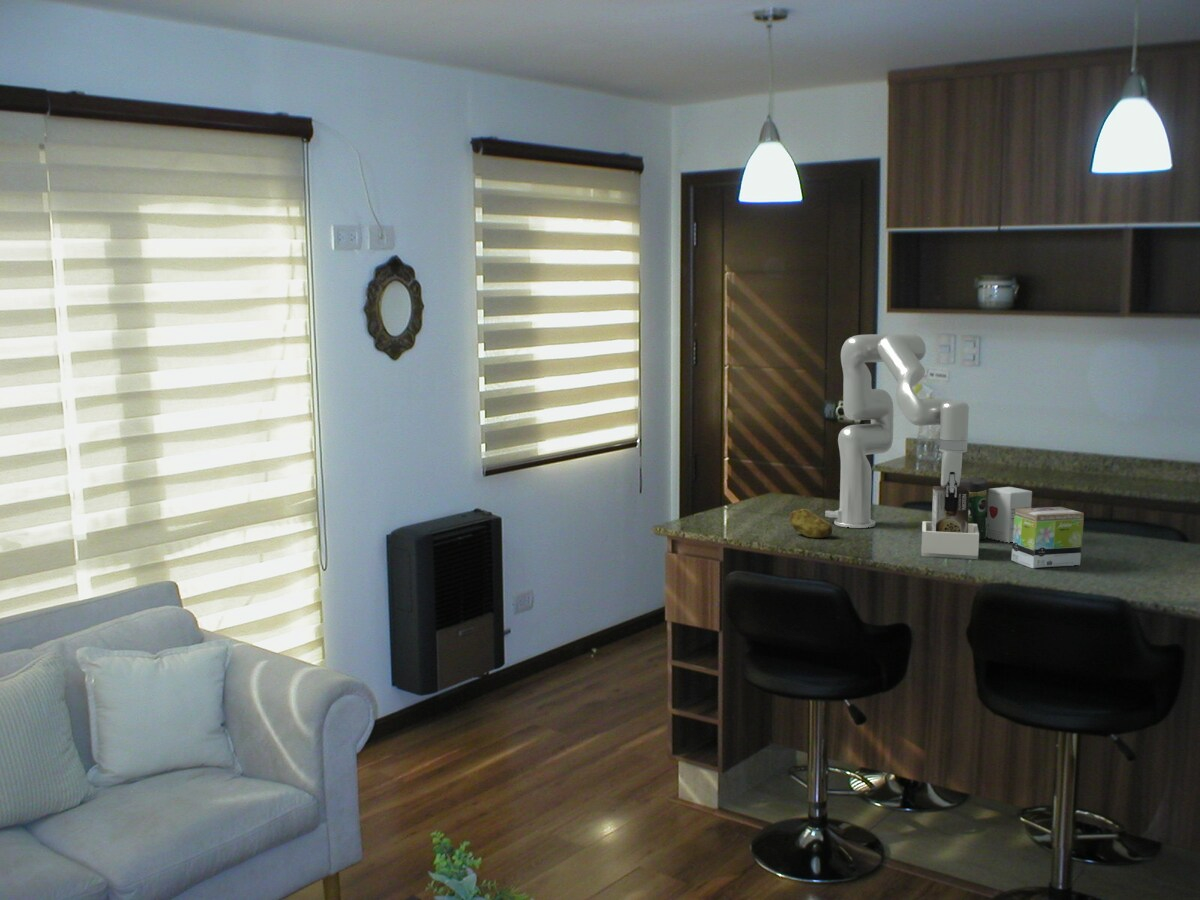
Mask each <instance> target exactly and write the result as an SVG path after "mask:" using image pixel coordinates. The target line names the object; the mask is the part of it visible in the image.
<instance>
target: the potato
mask: <svg viewBox="0 0 1200 900" xmlns="http://www.w3.org/2000/svg"><path fill="white" fill-rule="evenodd" d="M788 518H789V519H788V520H789V523H790V524H791V525H790V526H791V527H793V529H794V530H796V531H797V532H799V533H800V534H802V535H803V536H805V537H808V538H813V539H821V538H827V537H829V536H831V535H832V533H833V528H832V527H833V526H832V524H831V523H829V522H828V521H826V520H825V519H823V518H822V517H820V516H819V515H817V514H816V513H813V512H812V511H811V510H809V509H805V508H796V509H794V510H793V511H791V512H790V514H789V516H788Z"/></svg>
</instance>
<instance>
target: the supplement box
mask: <svg viewBox="0 0 1200 900" xmlns="http://www.w3.org/2000/svg"><path fill="white" fill-rule="evenodd" d="M987 492H988V493H987V494H988V495H987V514H986V537H988V538H987V539H990V538H992V539H991V540H994V539H996V540H995V541H998V540H1000V541H999V542H1002V541H1004V542H1003V543H1005V542H1008V543H1007V544H1010V543H1009V542H1013V529H1014V516H1015V509H1021V508H1032V500H1033V497H1032V496H1033V491H1032V490H1028V489H1023V488H1019V487H1018V488H1017V487H1013V486H1005V487H1004V486H1002V487H994V488H993V487H992V488H988V491H987ZM986 537H985V538H986Z"/></svg>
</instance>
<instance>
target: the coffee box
mask: <svg viewBox="0 0 1200 900" xmlns="http://www.w3.org/2000/svg"><path fill="white" fill-rule="evenodd" d="M945 497H946V486H944V487H942V486H941V485H940V486H939V485H934V486H932V502H931V503H932V509H931V522H932V531H936V532H956V533H968V513H969V490H968V489H967V488H966V487H965V486H959V487H958V488H957V495H956V497H957V511H956V512H953V511H945Z"/></svg>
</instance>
